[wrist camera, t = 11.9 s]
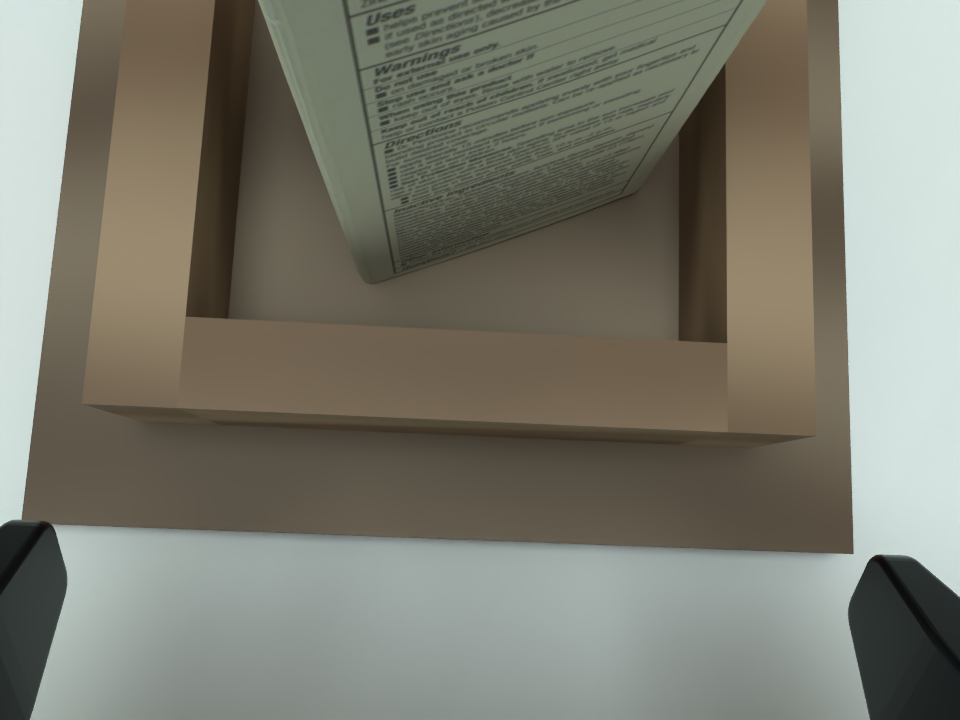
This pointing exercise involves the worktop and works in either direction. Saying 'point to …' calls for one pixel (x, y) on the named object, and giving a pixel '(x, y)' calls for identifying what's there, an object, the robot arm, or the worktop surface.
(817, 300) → the socket
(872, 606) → the robot arm
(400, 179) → the skincare box
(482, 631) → the worktop surface
